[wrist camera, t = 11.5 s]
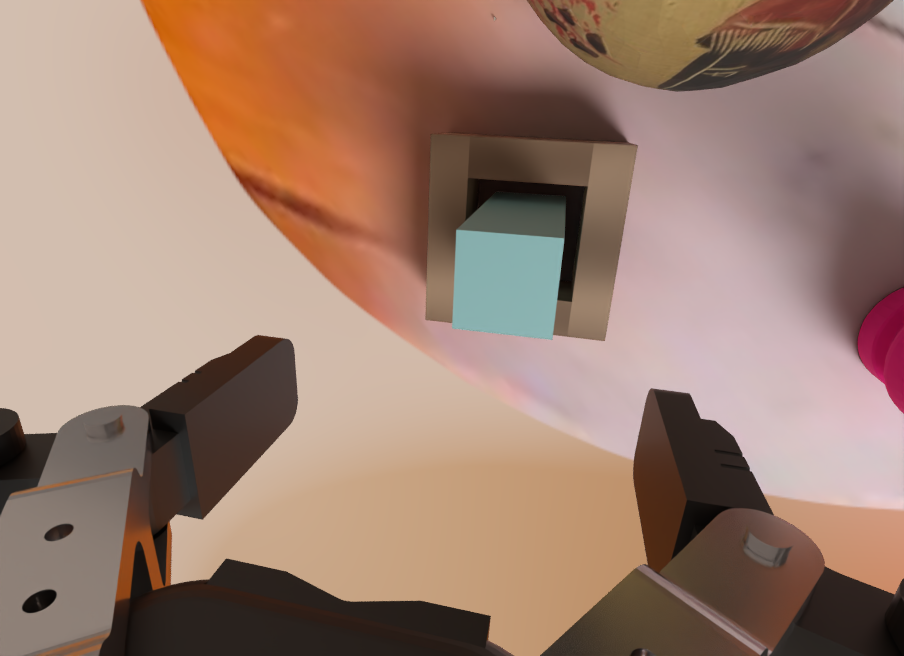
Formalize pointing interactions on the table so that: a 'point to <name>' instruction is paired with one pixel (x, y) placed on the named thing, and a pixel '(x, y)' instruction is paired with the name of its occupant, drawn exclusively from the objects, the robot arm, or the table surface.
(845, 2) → the ceramic jug
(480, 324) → the peg
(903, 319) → the pepper mill
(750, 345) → the table surface
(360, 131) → the table surface
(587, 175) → the socket block
